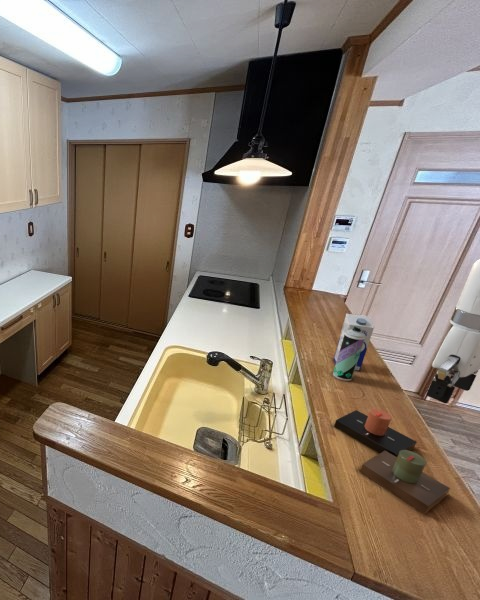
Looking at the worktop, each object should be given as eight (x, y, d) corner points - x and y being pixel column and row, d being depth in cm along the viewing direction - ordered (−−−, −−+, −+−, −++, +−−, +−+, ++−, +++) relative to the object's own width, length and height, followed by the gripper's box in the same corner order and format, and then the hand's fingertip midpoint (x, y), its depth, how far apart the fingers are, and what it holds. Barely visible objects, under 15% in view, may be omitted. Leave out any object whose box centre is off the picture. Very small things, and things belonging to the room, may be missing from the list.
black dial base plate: (413, 449, 86) (417, 441, 85) (393, 462, 82) (397, 454, 81) (353, 416, 98) (356, 409, 97) (333, 426, 94) (336, 419, 93)
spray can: (331, 371, 121) (346, 322, 114) (350, 375, 118) (366, 325, 111) (333, 378, 117) (348, 328, 110) (352, 382, 114) (369, 331, 107)
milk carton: (354, 362, 126) (369, 315, 119) (360, 371, 120) (376, 322, 113) (332, 359, 129) (346, 312, 122) (337, 367, 123) (351, 319, 116)
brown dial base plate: (446, 496, 73) (450, 487, 72) (424, 514, 69) (428, 505, 68) (381, 457, 83) (385, 449, 82) (359, 471, 79) (362, 463, 79)
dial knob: (369, 422, 92) (375, 405, 90) (388, 432, 88) (395, 415, 86) (361, 427, 90) (367, 410, 88) (380, 438, 86) (387, 420, 84)
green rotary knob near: (397, 465, 78) (405, 446, 76) (421, 479, 74) (430, 459, 72) (388, 471, 76) (395, 452, 74) (412, 486, 73) (421, 467, 71)
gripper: (472, 307, 70) (442, 374, 76) (433, 321, 63) (404, 394, 69) (527, 319, 64) (490, 392, 69) (490, 337, 57) (453, 415, 63)
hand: (447, 393), depth 69 cm, fingers open, 9 cm apart
